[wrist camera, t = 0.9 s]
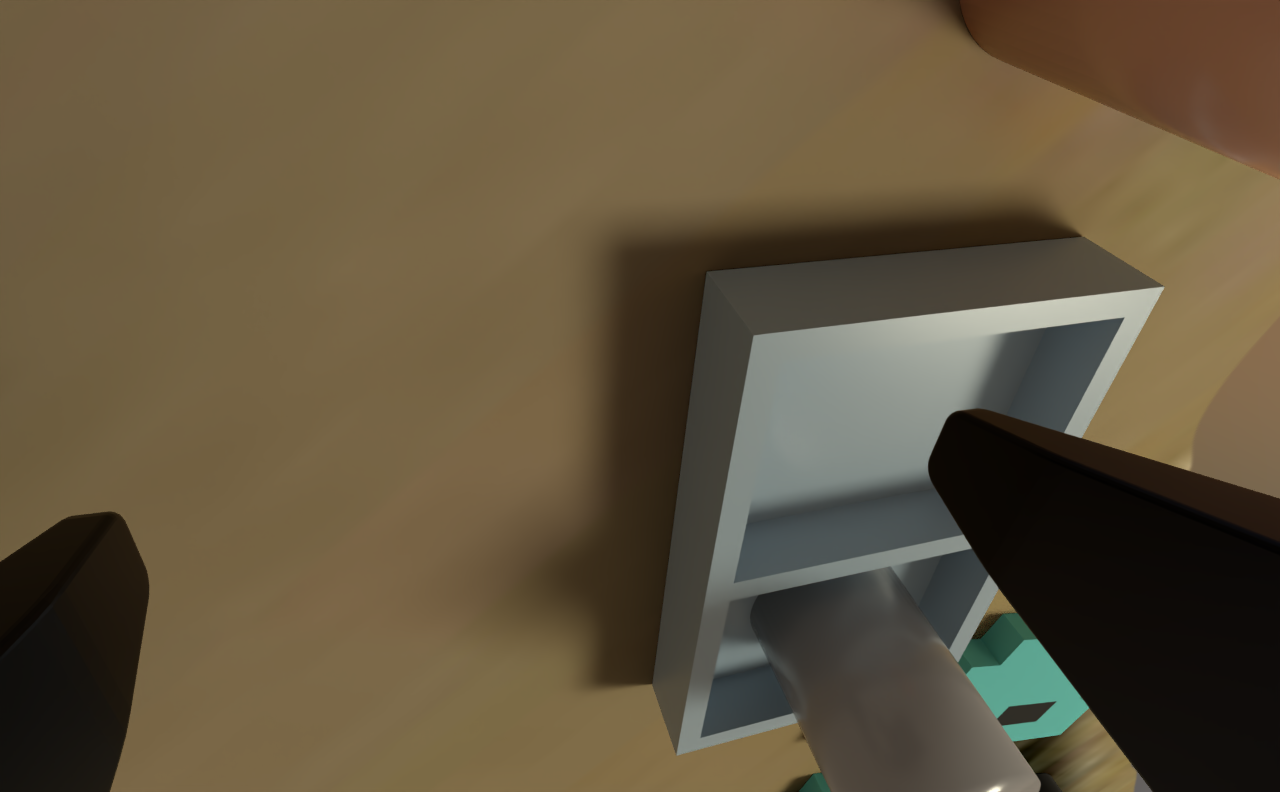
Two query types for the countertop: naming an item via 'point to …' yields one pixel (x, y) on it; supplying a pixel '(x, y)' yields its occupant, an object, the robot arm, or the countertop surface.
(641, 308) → the countertop surface
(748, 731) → the cup rack
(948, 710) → the grey cylinder
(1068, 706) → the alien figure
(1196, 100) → the peach round cylinder
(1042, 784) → the wine bottle
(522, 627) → the countertop surface
